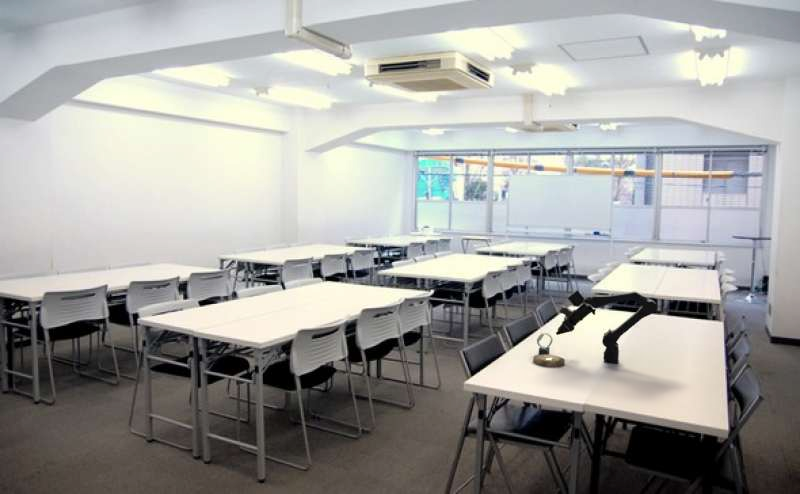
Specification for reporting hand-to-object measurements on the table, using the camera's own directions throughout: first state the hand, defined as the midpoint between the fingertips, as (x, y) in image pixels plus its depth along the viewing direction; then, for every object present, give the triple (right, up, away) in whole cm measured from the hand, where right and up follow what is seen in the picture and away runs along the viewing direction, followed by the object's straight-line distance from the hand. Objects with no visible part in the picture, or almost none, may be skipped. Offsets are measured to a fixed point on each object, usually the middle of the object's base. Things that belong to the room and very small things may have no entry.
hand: (557, 332), depth 295 cm
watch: (-6, -12, +3) cm, 14 cm away
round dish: (-8, -13, -13) cm, 20 cm away
